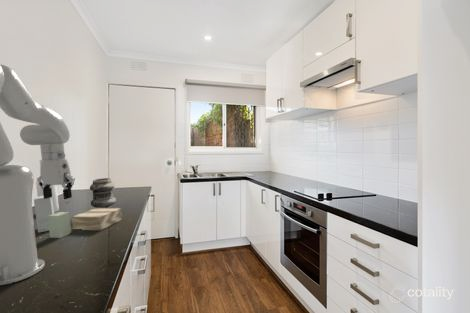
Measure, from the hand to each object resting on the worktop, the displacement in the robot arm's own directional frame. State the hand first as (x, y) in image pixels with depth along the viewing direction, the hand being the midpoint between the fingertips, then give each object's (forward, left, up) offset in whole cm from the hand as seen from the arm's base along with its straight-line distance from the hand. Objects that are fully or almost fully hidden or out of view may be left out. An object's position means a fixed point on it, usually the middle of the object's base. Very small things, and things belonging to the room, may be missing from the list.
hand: (57, 198), depth 99 cm
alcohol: (+28, +39, -16) cm, 51 cm away
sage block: (-1, 0, -15) cm, 15 cm away
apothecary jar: (+31, +6, -16) cm, 36 cm away
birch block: (+13, -7, -16) cm, 21 cm away
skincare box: (+5, +14, -16) cm, 21 cm away
